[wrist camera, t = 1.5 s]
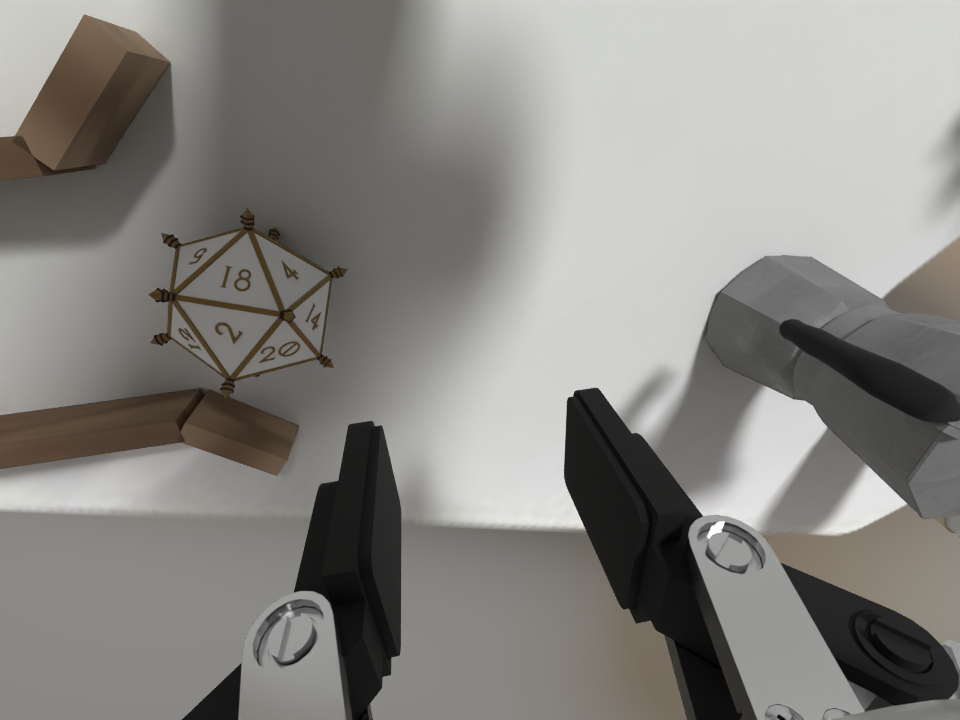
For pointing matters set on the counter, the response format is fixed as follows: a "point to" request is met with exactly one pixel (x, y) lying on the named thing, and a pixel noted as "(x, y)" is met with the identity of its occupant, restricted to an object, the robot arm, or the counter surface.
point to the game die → (246, 303)
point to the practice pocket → (79, 146)
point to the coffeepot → (852, 370)
